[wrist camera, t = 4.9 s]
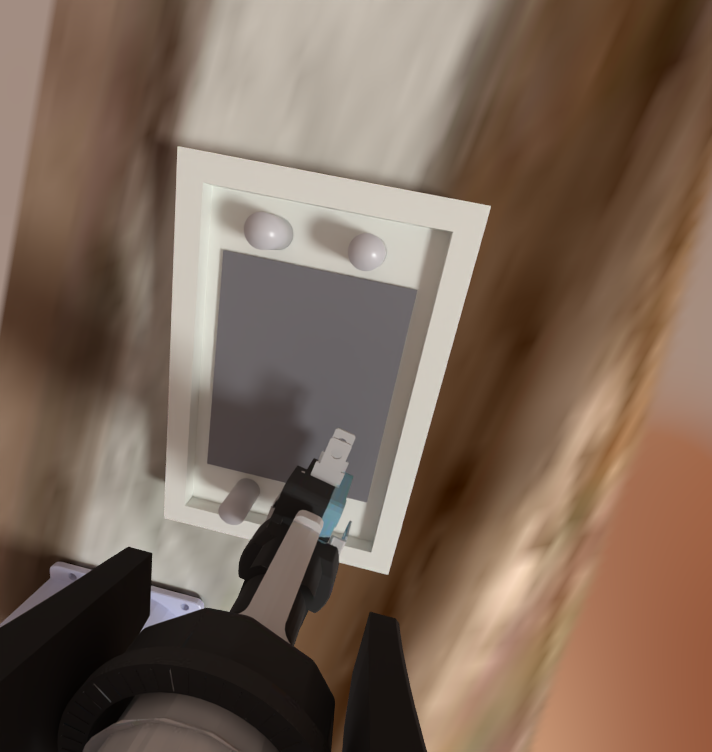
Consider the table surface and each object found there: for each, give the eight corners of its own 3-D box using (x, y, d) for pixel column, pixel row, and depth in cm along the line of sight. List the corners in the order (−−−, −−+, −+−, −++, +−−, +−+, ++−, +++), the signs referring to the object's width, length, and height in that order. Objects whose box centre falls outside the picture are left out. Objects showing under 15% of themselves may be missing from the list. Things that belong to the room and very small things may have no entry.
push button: (286, 398, 15) (51, 599, 5) (416, 456, 15) (421, 780, 5) (234, 536, 17) (-20, 884, 7) (349, 590, 16) (255, 1030, 7)
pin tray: (188, 491, 21) (149, 533, 18) (208, 160, 16) (158, 137, 13) (390, 541, 20) (386, 594, 17) (479, 212, 15) (498, 202, 12)
